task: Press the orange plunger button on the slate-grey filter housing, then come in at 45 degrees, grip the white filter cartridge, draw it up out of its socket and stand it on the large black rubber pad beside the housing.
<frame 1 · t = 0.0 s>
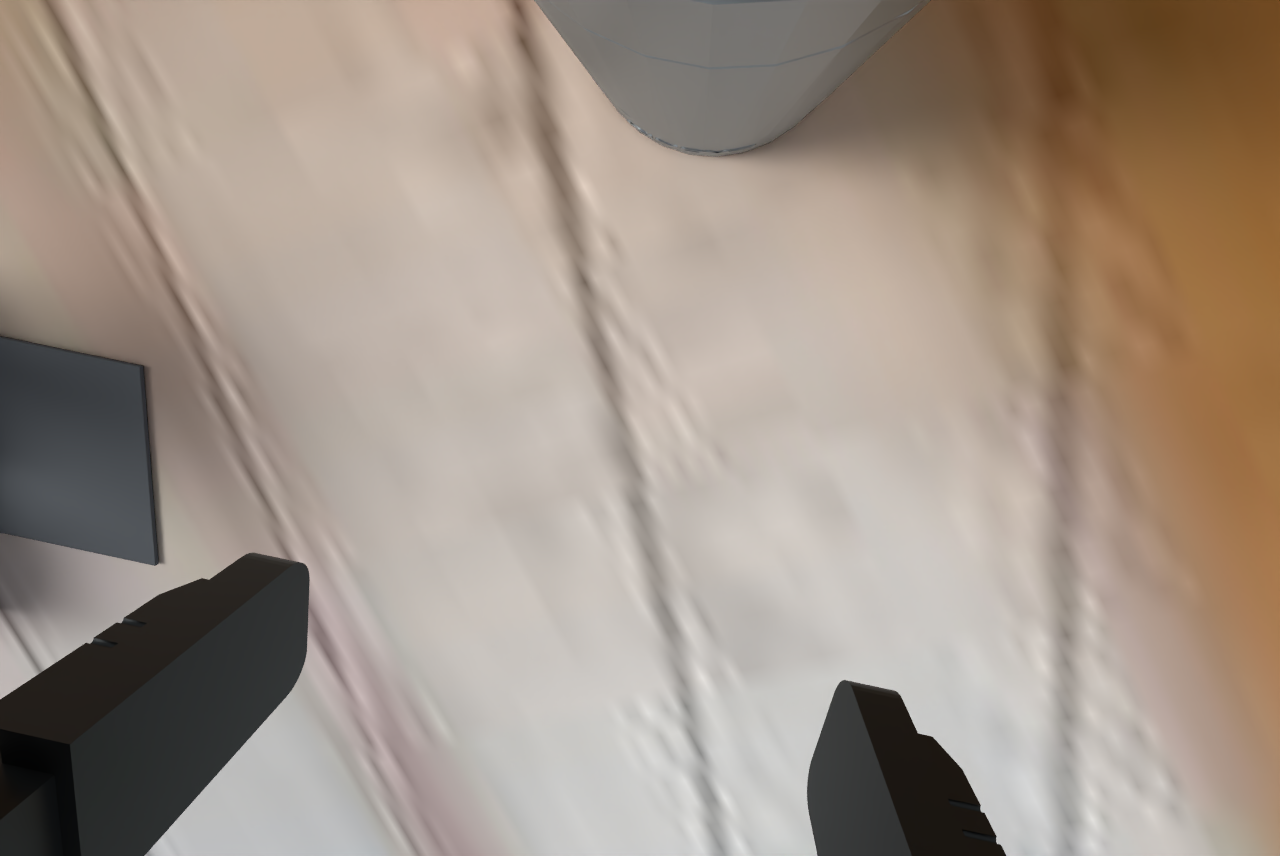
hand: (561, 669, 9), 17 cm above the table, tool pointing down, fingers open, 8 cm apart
pad: (46, 448, 29), on the table
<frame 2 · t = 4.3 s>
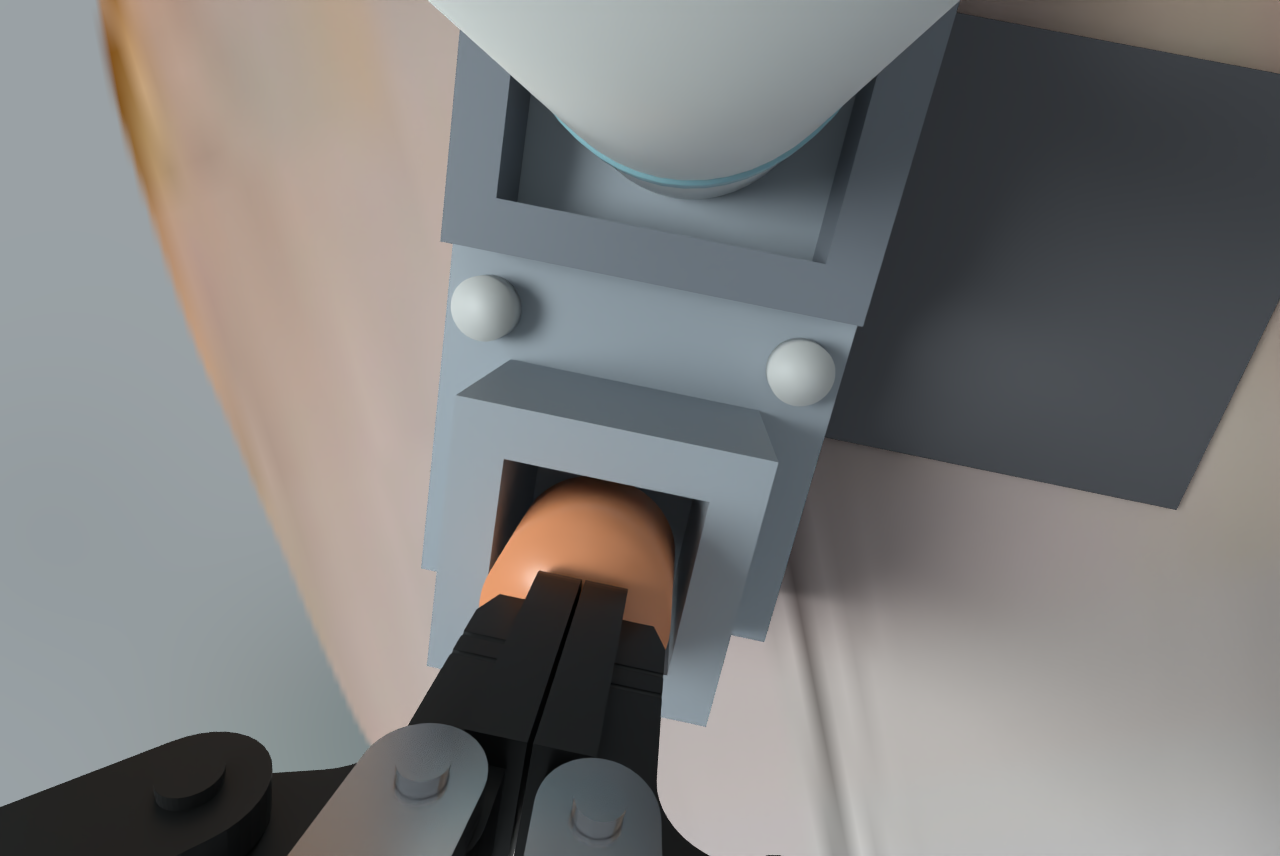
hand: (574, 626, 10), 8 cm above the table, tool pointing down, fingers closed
cartridge: (695, 65, 12), point 3 cm above the table, touching housing
pad: (1055, 280, 15), on the table
housing: (662, 265, 16), on the table
plunger: (586, 581, 12), point 6 cm above the table, slide at 1.2 cm, touching gripper
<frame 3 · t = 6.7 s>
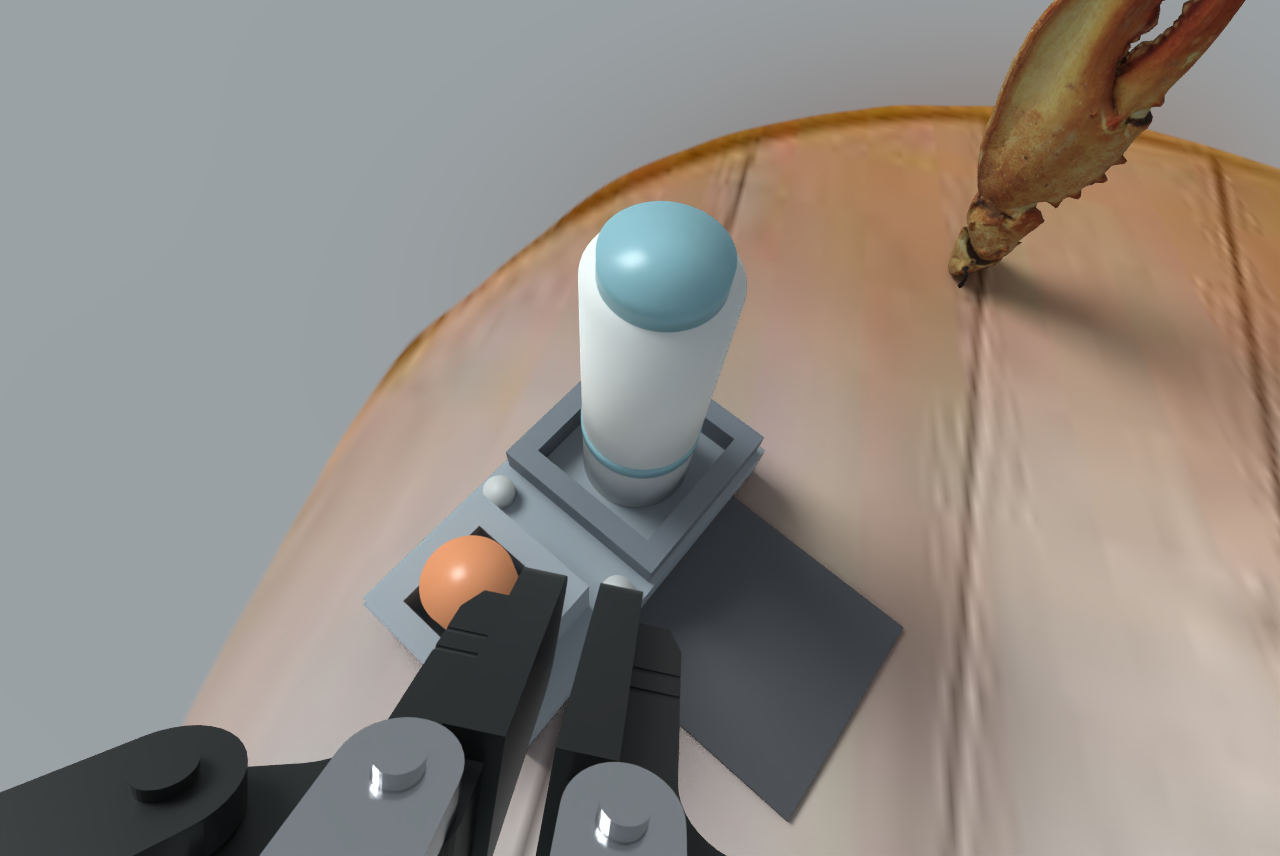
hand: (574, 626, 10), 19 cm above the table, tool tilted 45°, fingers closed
cartridge: (635, 458, 30), point 3 cm above the table, touching housing
crab claw: (946, 271, 41), on the table
pad: (755, 641, 29), on the table
housing: (580, 535, 31), on the table
plunger: (473, 589, 22), point 7 cm above the table, slide at 0.6 cm
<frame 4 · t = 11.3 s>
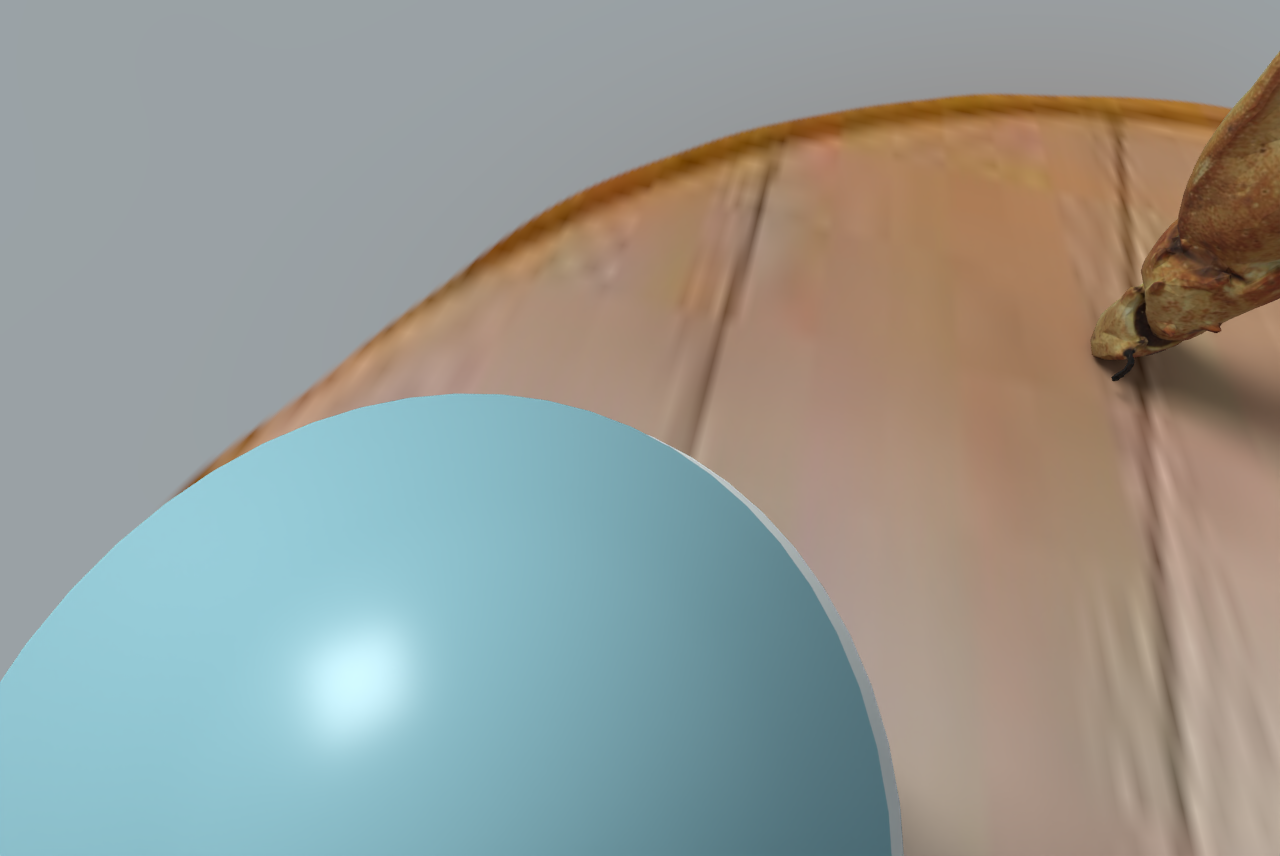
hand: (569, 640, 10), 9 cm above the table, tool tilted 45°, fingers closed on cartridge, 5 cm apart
cartridge: (559, 764, 15), point 3 cm above the table, touching gripper, housing
crab claw: (1083, 349, 26), on the table
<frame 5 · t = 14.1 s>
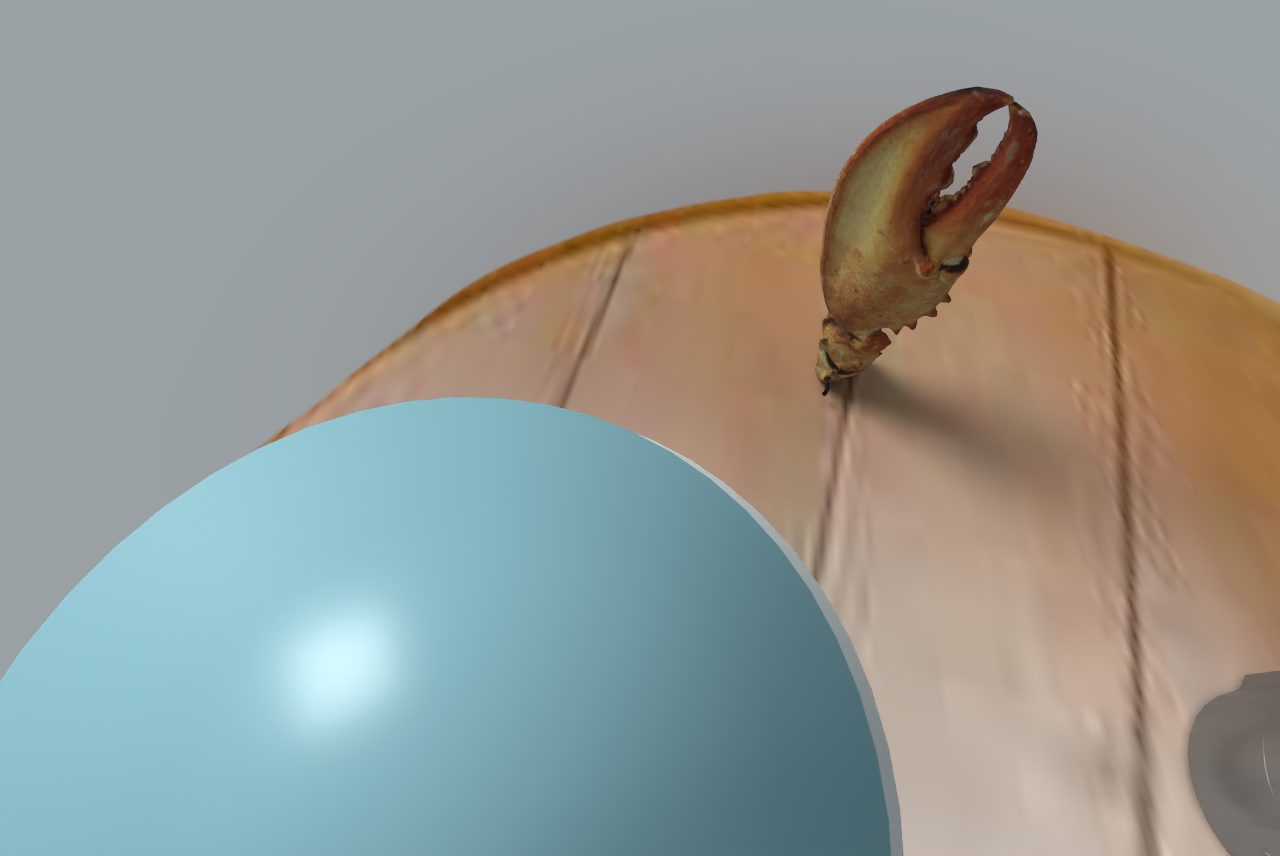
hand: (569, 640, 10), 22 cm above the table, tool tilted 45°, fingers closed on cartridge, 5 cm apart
cartridge: (559, 765, 15), point 16 cm above the table, touching gripper
crab claw: (816, 374, 40), on the table
when the fingers open (8 cm above the table, at t = 17.0 s): cartridge drops 1 cm, resting on pad.
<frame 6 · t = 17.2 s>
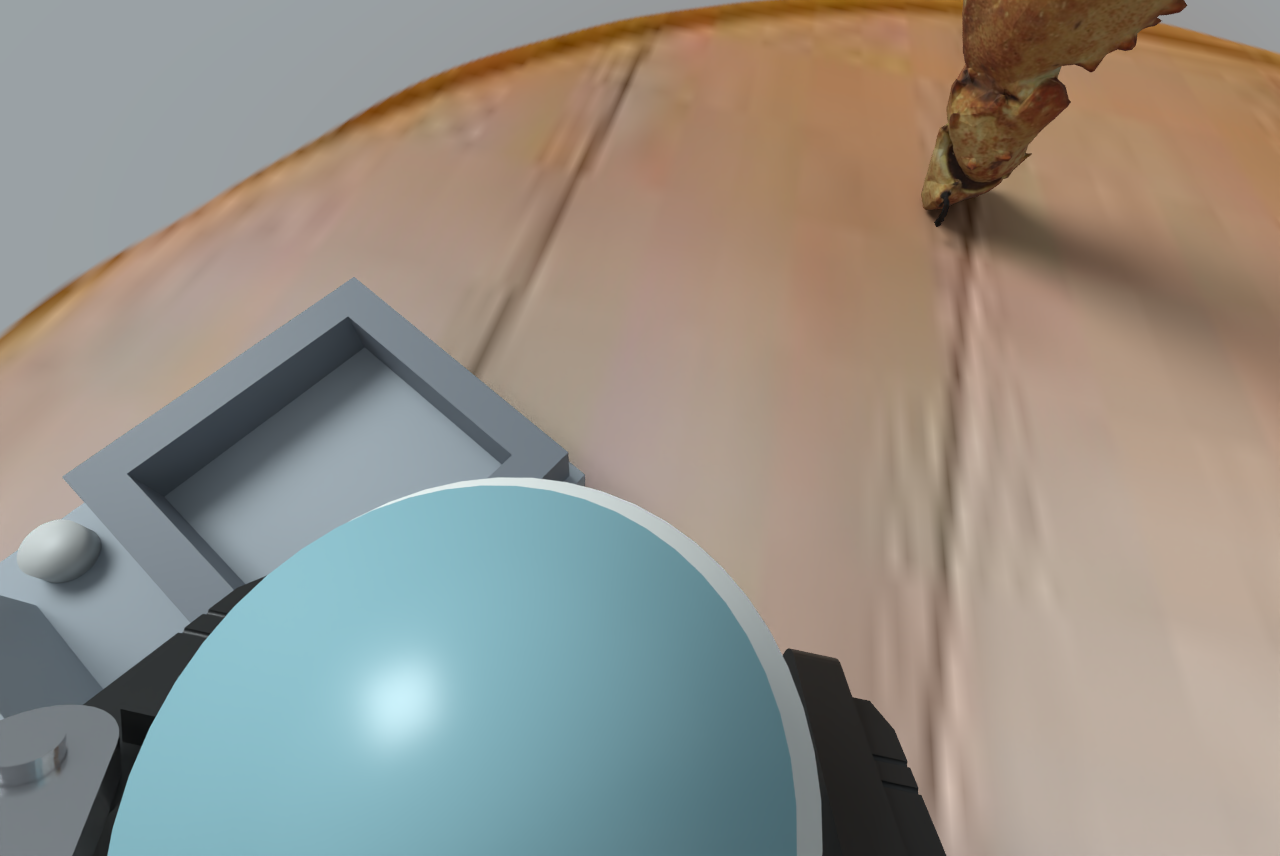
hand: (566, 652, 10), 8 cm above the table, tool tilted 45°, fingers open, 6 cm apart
cartridge: (555, 769, 16), resting on pad
crab claw: (919, 205, 28), on the table
housing: (257, 621, 17), on the table
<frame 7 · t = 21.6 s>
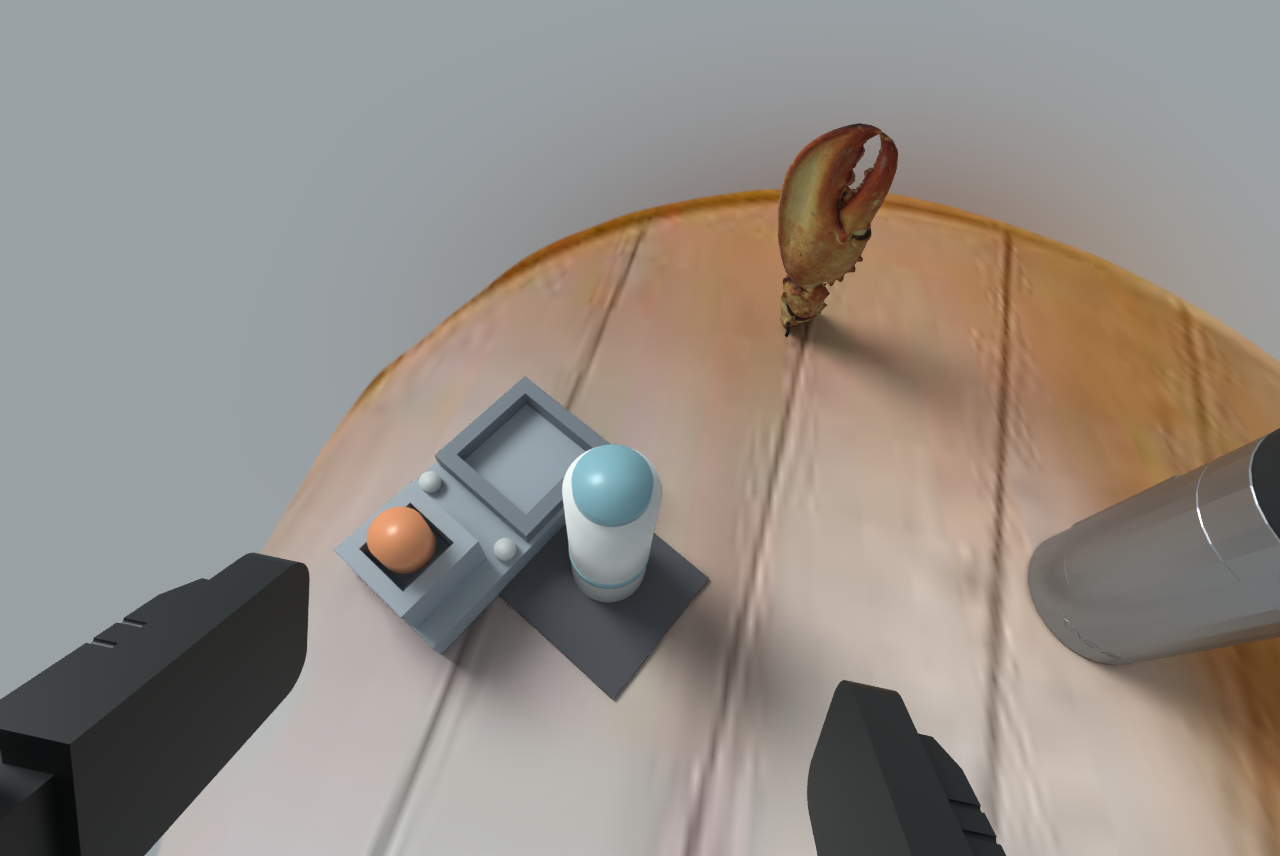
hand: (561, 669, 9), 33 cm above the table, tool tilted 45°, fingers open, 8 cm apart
cartridge: (608, 565, 43), resting on pad
crab claw: (781, 323, 54), on the table
pad: (605, 586, 43), on the table
housing: (489, 513, 44), on the table
plunger: (402, 540, 36), point 7 cm above the table, slide at 0.6 cm
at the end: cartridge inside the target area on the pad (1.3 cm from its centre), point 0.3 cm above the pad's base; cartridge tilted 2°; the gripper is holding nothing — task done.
